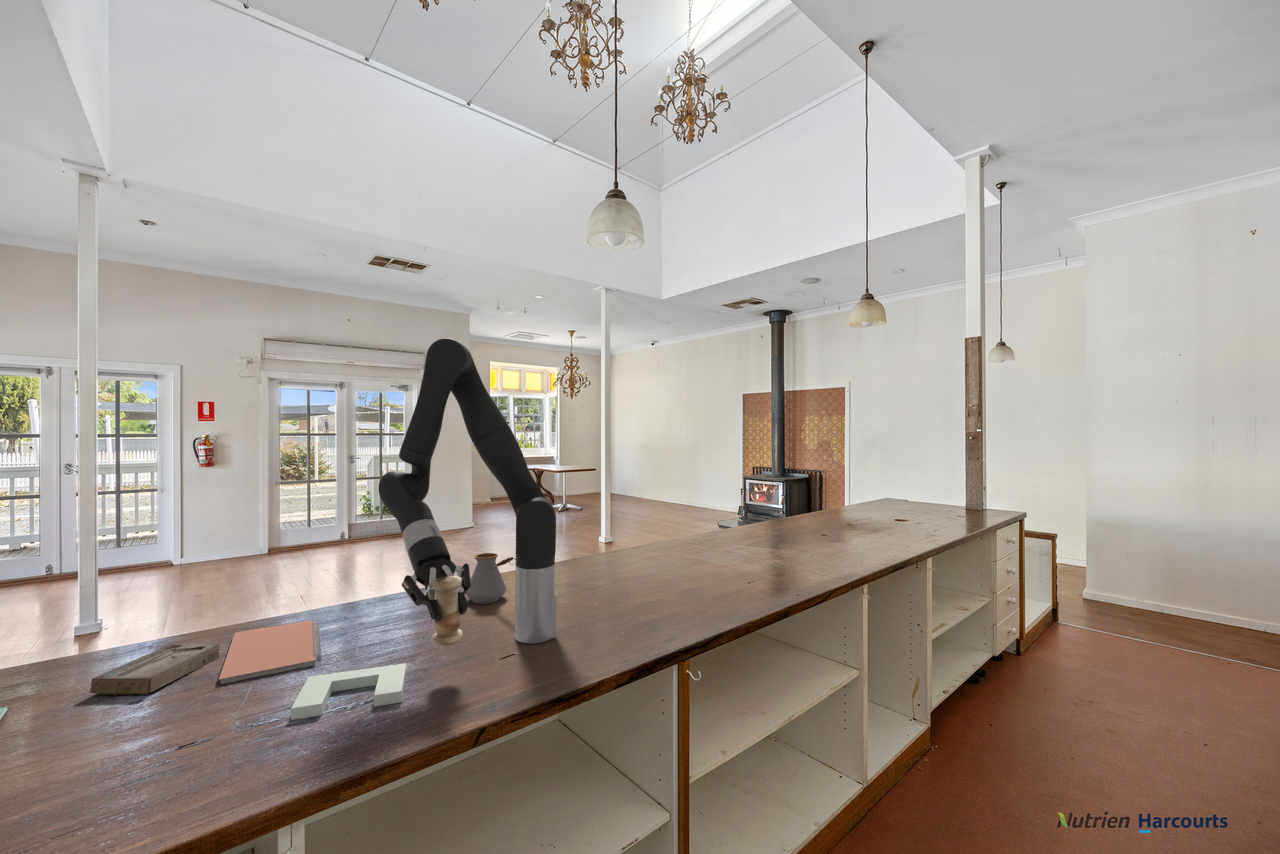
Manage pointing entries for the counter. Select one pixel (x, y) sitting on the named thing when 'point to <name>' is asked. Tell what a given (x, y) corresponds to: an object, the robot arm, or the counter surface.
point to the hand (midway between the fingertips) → (451, 615)
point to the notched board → (322, 686)
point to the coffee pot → (487, 579)
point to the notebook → (271, 651)
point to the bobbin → (447, 610)
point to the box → (154, 669)
